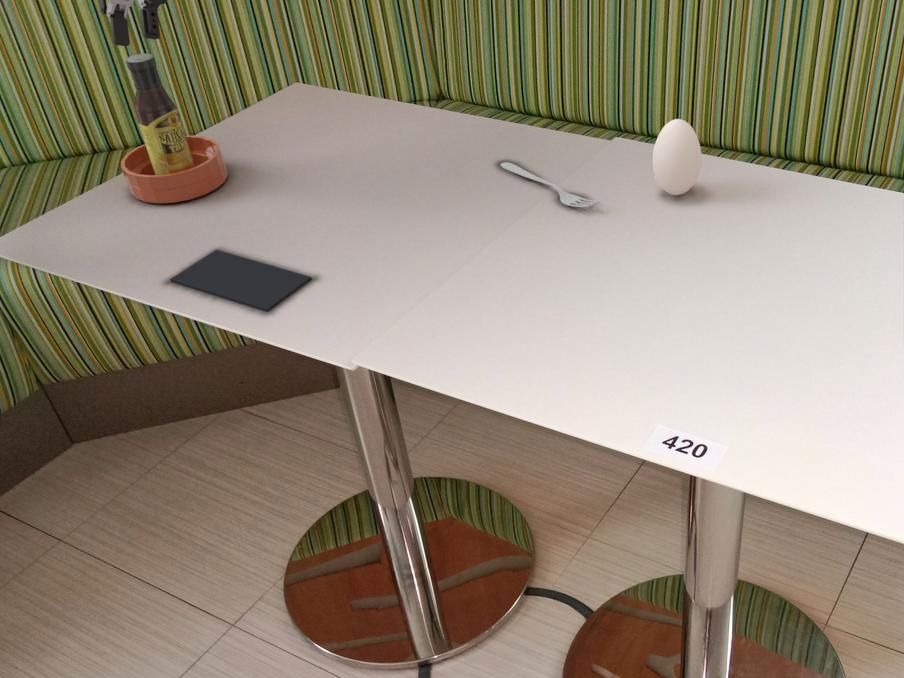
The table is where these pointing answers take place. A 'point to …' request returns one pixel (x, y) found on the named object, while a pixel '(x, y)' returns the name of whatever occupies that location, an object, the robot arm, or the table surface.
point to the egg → (676, 157)
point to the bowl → (179, 184)
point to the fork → (564, 196)
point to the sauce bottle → (158, 119)
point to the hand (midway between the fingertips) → (136, 42)
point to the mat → (241, 280)
